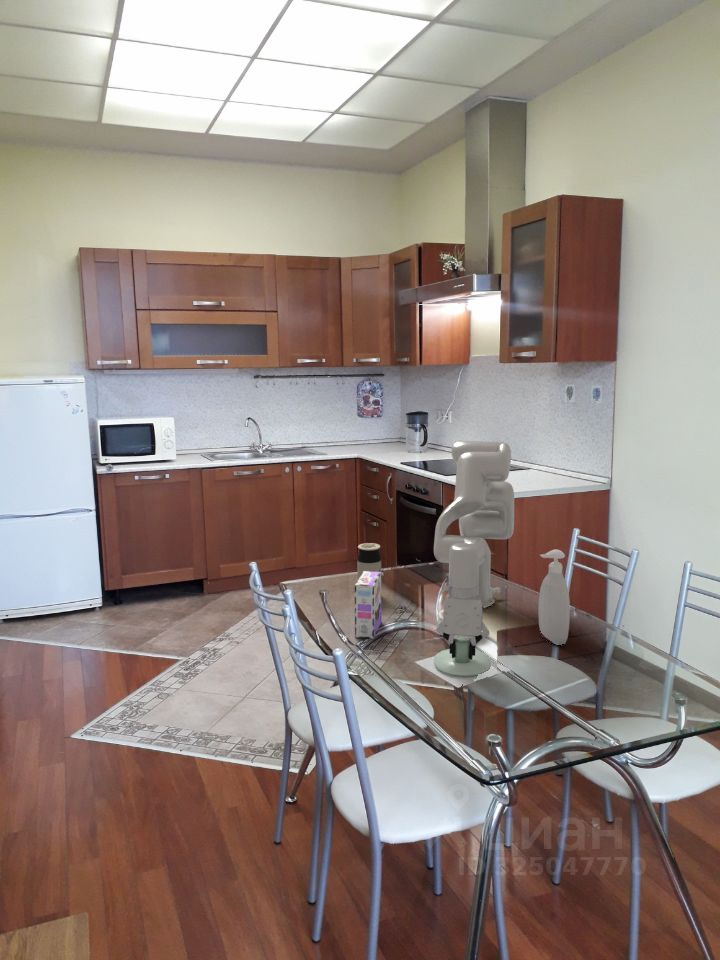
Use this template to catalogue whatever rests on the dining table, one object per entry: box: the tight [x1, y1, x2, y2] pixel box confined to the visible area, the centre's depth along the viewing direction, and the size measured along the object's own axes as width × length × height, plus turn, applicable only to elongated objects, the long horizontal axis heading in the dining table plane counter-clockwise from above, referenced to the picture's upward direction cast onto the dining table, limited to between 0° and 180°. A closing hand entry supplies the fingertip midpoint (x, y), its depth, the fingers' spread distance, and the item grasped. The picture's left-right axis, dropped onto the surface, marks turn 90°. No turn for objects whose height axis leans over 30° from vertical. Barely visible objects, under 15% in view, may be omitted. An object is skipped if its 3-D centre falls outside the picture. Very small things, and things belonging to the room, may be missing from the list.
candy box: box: [354, 571, 383, 639], centre depth 220 cm, size 14×6×16 cm, turn 168°
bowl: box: [437, 608, 471, 640], centre depth 217 cm, size 12×12×6 cm
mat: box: [414, 655, 512, 689], centre depth 195 cm, size 18×18×1 cm
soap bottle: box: [537, 548, 571, 646], centre depth 210 cm, size 14×8×27 cm, turn 14°
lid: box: [434, 637, 492, 676], centre depth 195 cm, size 15×15×6 cm
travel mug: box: [356, 542, 382, 580], centre depth 249 cm, size 8×8×18 cm
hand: (462, 656), depth 195 cm, fingers closed on lid, 4 cm apart
